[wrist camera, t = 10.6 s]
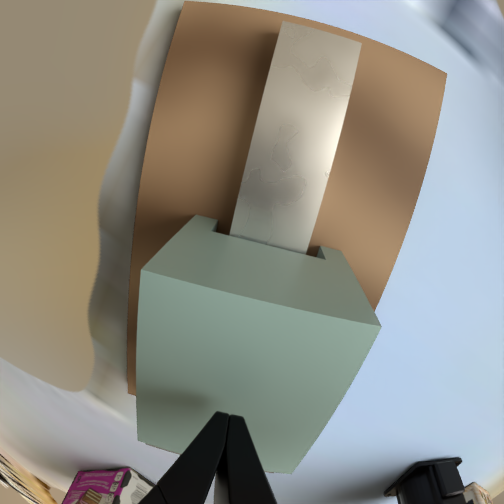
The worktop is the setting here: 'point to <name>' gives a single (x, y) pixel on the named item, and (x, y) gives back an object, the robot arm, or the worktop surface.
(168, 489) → the robot arm
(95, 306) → the worktop surface
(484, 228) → the worktop surface
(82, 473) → the candy bar box
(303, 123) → the metal rail
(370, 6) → the worktop surface
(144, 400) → the block
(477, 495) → the decorative jar
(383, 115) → the mounting board
